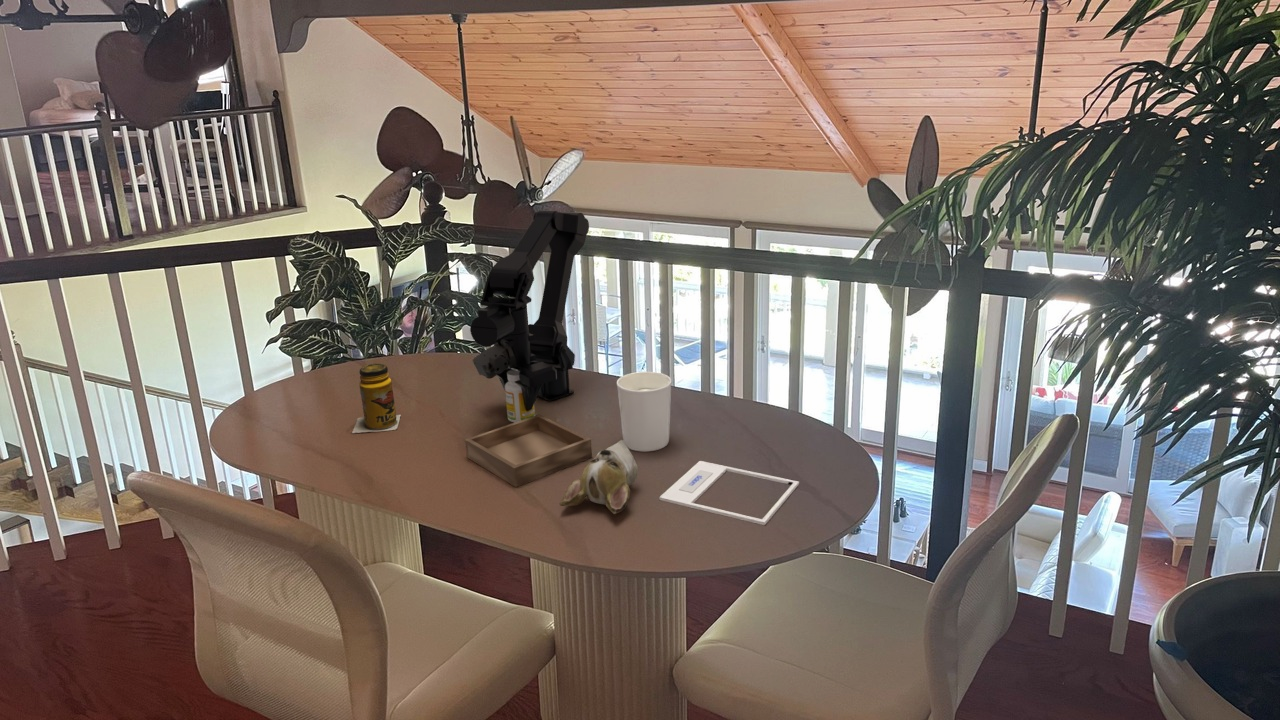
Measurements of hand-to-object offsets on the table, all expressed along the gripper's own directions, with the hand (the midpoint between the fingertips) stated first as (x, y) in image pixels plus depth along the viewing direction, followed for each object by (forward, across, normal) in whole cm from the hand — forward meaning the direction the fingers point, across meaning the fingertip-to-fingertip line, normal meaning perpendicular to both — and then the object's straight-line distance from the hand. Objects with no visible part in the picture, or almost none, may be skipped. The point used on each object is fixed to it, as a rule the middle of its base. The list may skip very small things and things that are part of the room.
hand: (520, 406), depth 176 cm
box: (+2, +16, -9) cm, 19 cm away
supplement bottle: (+3, 0, 0) cm, 3 cm away
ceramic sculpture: (+3, +38, -9) cm, 39 cm away
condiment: (+3, -18, -22) cm, 29 cm away
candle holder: (+3, +26, +10) cm, 28 cm away
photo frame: (+3, +50, +7) cm, 51 cm away
